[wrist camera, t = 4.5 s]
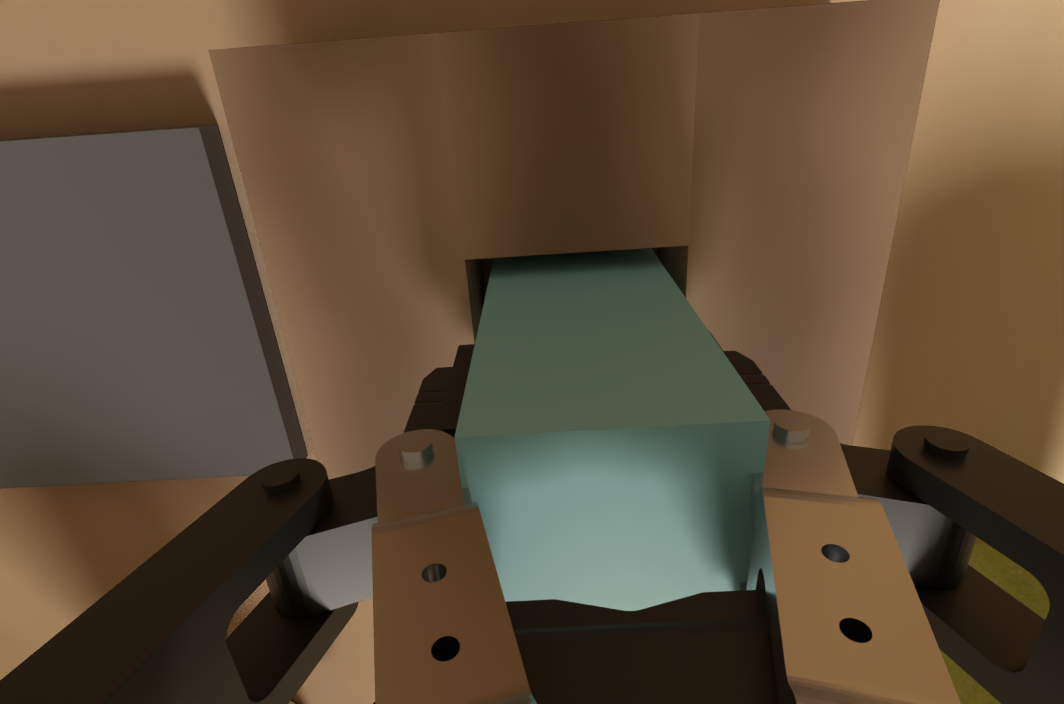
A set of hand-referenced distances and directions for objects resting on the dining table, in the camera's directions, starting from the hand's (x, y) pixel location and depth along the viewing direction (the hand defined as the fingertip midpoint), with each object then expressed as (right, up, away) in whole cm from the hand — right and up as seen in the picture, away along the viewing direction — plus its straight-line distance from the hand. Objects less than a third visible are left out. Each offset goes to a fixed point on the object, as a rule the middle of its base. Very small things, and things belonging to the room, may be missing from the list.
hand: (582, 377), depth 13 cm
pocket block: (0, +2, +5) cm, 6 cm away
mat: (-15, +2, +6) cm, 16 cm away
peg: (0, +2, +4) cm, 5 cm away
